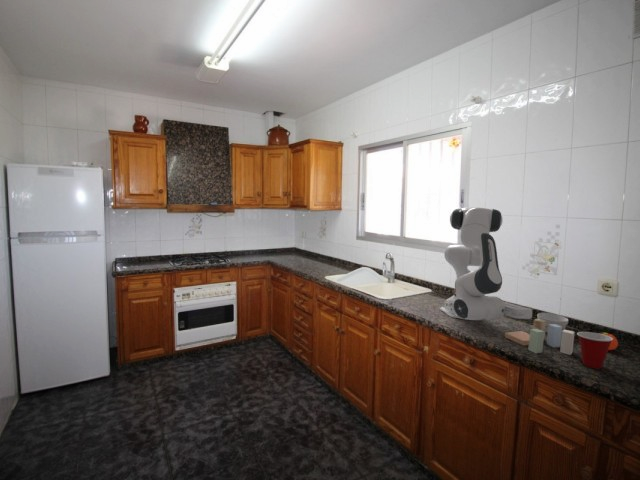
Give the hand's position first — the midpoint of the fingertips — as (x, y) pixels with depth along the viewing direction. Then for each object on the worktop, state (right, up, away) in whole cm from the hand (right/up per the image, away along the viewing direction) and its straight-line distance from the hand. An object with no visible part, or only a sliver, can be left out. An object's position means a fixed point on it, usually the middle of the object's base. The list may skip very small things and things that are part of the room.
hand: (519, 307), depth 137 cm
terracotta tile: (+12, -18, +17) cm, 28 cm away
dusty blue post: (+22, -19, +12) cm, 32 cm away
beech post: (+20, -18, +19) cm, 33 cm away
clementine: (+43, -20, +10) cm, 49 cm away
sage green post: (+10, -19, +5) cm, 22 cm away
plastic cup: (+24, -21, -6) cm, 33 cm away
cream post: (+23, -20, +5) cm, 30 cm away
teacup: (+33, -18, +29) cm, 48 cm away
